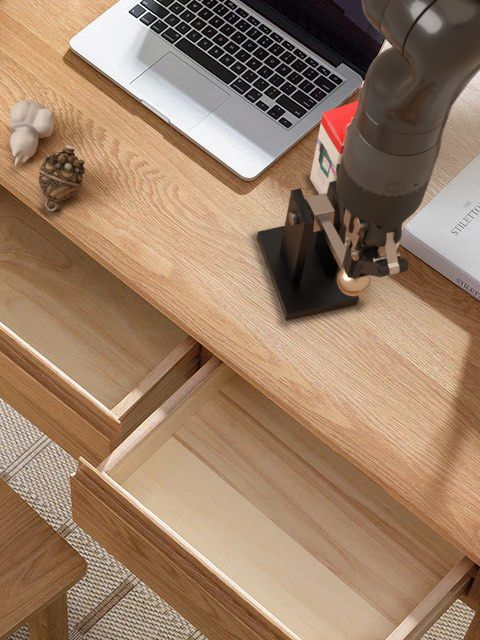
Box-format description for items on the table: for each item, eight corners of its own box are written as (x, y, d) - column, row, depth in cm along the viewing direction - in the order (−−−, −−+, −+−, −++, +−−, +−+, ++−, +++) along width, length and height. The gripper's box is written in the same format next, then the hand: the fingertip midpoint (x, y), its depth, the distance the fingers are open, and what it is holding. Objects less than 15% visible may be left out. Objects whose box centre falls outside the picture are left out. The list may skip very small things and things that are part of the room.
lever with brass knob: (374, 299, 120) (377, 275, 117) (342, 306, 120) (344, 282, 117) (328, 212, 128) (330, 188, 126) (299, 218, 128) (300, 195, 125)
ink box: (374, 154, 142) (399, 67, 129) (395, 187, 140) (421, 101, 127) (307, 178, 141) (325, 92, 128) (326, 211, 139) (346, 127, 126)
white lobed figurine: (4, 95, 144) (-16, 158, 143) (40, 88, 139) (20, 154, 138) (37, 116, 148) (18, 177, 146) (74, 110, 143) (54, 174, 142)
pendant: (56, 138, 141) (96, 153, 140) (35, 202, 143) (75, 217, 143) (44, 138, 137) (85, 154, 136) (22, 204, 139) (63, 220, 138)
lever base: (357, 305, 134) (378, 238, 122) (285, 320, 133) (299, 255, 122) (325, 223, 138) (342, 151, 127) (256, 238, 138) (267, 167, 126)
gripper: (460, 211, 100) (416, 320, 115) (405, 87, 106) (370, 206, 121) (371, 230, 99) (339, 337, 115) (321, 104, 105) (296, 222, 121)
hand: (355, 269), depth 118 cm, fingers closed
